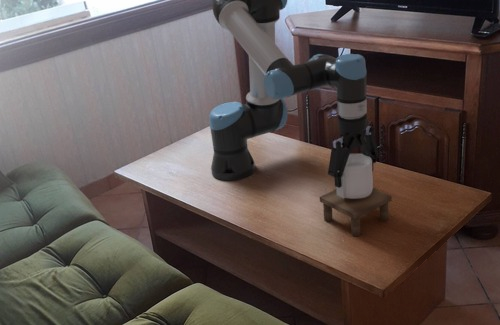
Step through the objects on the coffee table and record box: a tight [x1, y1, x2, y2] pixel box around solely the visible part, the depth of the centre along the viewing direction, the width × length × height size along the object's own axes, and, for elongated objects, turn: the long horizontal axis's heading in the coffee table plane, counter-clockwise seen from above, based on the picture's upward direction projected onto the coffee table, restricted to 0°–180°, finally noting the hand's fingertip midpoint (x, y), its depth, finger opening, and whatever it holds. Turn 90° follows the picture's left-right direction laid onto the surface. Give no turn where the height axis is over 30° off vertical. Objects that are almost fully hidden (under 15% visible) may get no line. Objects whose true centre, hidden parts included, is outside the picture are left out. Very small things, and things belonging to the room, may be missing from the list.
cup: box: [338, 153, 374, 199], centre depth 163 cm, size 10×10×10 cm
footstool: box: [319, 187, 393, 238], centre depth 167 cm, size 14×14×8 cm
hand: (354, 189), depth 165 cm, fingers closed on cup, 10 cm apart
